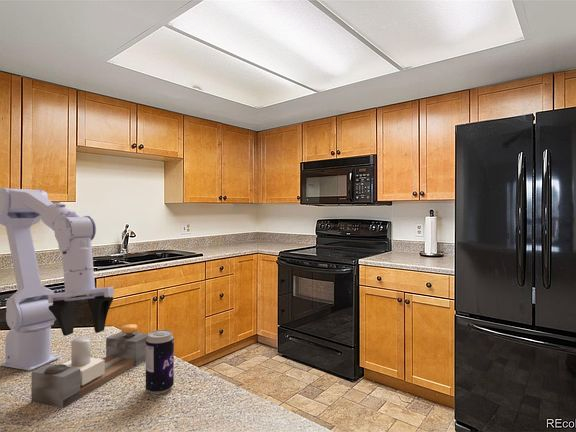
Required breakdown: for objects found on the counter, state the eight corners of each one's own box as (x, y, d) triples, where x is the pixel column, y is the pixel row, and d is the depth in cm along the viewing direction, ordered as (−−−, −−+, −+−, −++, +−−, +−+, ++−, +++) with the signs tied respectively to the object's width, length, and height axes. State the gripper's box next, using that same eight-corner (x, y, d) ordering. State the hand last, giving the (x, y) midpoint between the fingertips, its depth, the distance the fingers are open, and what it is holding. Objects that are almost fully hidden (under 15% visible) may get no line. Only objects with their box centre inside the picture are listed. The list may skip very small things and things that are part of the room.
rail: (29, 401, 72) (29, 369, 72) (123, 352, 97) (123, 329, 97) (65, 408, 70) (65, 375, 69) (151, 356, 94) (151, 332, 94)
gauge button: (118, 339, 92) (118, 327, 92) (128, 334, 95) (128, 323, 95) (130, 341, 91) (130, 329, 91) (140, 336, 94) (140, 324, 94)
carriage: (55, 380, 77) (56, 343, 76) (79, 369, 82) (79, 334, 82) (82, 385, 75) (82, 347, 75) (104, 373, 80) (104, 337, 80)
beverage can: (164, 397, 74) (165, 339, 74) (139, 394, 75) (140, 336, 75) (178, 384, 80) (178, 330, 80) (155, 381, 81) (155, 328, 81)
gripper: (34, 276, 77) (39, 341, 76) (96, 268, 75) (102, 335, 74) (60, 272, 84) (64, 332, 83) (117, 265, 82) (122, 326, 81)
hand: (84, 333), depth 79 cm, fingers open, 7 cm apart
